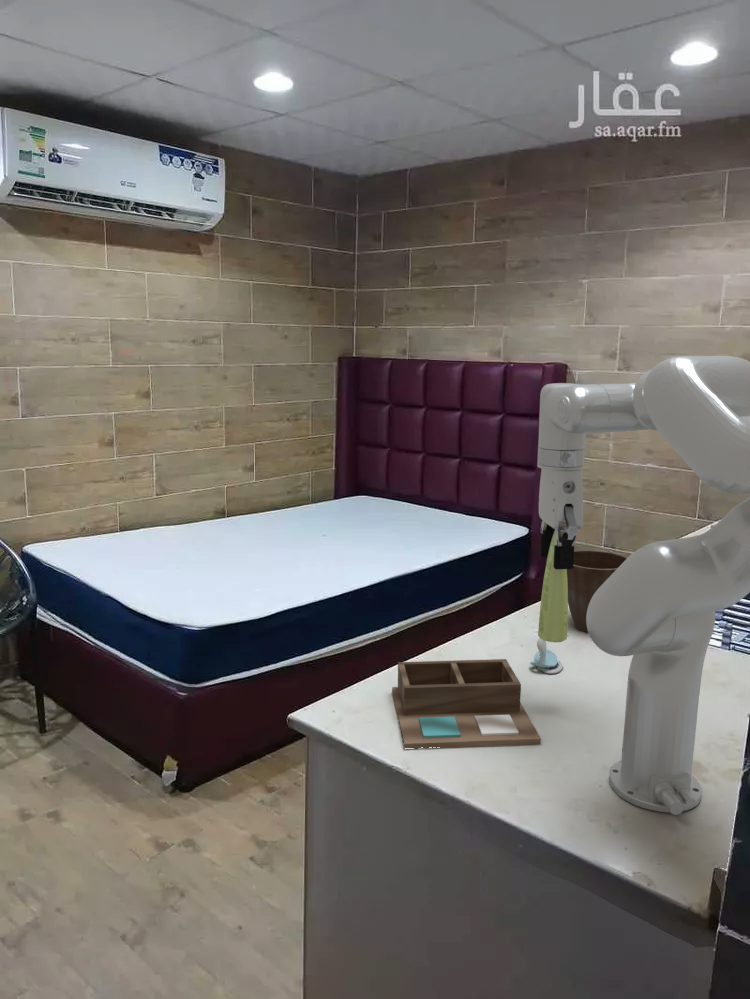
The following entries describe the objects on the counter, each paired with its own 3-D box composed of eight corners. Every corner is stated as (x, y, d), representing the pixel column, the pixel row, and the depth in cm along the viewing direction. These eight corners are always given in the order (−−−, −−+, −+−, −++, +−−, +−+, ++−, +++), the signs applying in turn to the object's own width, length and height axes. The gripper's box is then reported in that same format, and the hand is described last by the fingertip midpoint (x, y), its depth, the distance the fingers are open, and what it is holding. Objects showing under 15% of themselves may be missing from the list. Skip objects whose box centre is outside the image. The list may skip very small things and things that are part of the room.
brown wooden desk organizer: (540, 744, 123) (542, 710, 121) (404, 749, 121) (404, 714, 120) (509, 688, 142) (511, 658, 141) (392, 692, 140) (392, 661, 139)
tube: (576, 640, 131) (581, 530, 128) (555, 646, 129) (560, 534, 125) (551, 630, 136) (556, 523, 132) (531, 636, 133) (535, 527, 130)
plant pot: (544, 626, 173) (547, 558, 169) (580, 610, 183) (584, 546, 179) (602, 645, 162) (607, 573, 159) (638, 628, 172) (643, 559, 169)
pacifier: (565, 664, 153) (536, 658, 156) (568, 635, 152) (538, 629, 154) (558, 679, 147) (527, 672, 149) (560, 648, 145) (529, 642, 148)
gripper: (602, 466, 118) (595, 576, 122) (566, 451, 135) (561, 548, 139) (554, 467, 118) (549, 578, 121) (524, 451, 135) (520, 549, 138)
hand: (556, 561), depth 130 cm, fingers closed on tube, 7 cm apart
